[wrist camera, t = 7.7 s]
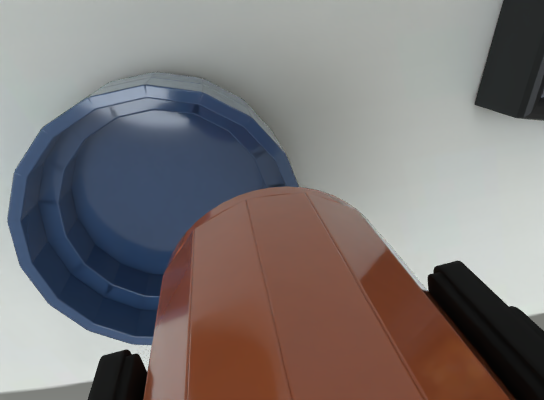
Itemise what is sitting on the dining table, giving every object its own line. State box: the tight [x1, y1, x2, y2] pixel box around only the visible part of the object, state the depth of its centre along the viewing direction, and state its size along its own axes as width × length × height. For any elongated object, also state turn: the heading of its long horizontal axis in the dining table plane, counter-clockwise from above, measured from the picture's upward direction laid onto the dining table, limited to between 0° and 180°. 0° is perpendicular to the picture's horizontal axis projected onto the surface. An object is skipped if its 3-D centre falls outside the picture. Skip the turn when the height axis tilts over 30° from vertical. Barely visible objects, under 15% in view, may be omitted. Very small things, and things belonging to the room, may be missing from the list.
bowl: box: [7, 72, 299, 345], centre depth 24 cm, size 14×14×6 cm
